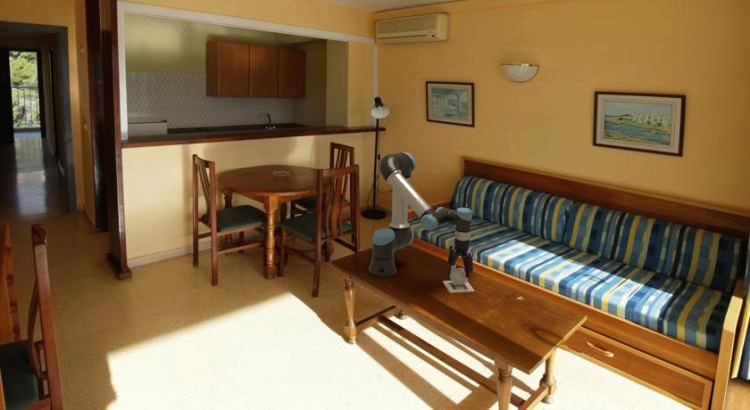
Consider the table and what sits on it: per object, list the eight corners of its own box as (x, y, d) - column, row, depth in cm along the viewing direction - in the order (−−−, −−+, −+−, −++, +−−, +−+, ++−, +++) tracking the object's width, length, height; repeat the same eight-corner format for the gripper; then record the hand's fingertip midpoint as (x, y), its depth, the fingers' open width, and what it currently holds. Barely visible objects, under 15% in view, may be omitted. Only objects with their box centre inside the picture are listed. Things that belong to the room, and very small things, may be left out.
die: (464, 289, 248) (472, 272, 250) (448, 281, 248) (457, 263, 250) (459, 289, 256) (468, 272, 258) (444, 281, 256) (453, 264, 258)
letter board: (449, 292, 247) (450, 291, 247) (442, 282, 260) (442, 280, 260) (474, 291, 249) (474, 290, 249) (466, 281, 262) (466, 280, 262)
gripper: (442, 234, 253) (439, 274, 259) (473, 245, 237) (469, 288, 243) (452, 231, 257) (449, 271, 263) (483, 242, 242) (479, 285, 248)
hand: (458, 279), depth 253 cm, fingers closed on die, 8 cm apart
